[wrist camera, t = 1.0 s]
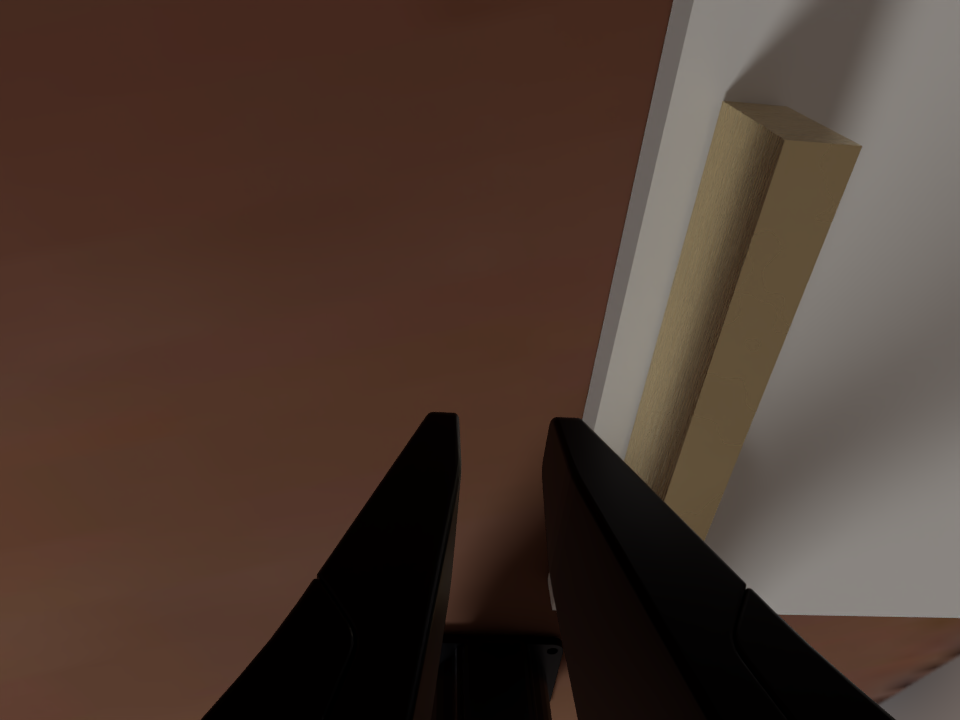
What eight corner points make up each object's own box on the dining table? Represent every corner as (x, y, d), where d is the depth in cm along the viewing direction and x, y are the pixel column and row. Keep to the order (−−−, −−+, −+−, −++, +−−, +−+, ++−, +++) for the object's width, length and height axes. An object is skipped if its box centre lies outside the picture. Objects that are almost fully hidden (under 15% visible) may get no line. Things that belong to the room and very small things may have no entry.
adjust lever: (666, 568, 25) (694, 651, 22) (564, 565, 25) (579, 649, 22) (833, 110, 16) (919, 150, 13) (674, 96, 16) (725, 135, 13)
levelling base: (941, 588, 29) (987, 649, 27) (547, 579, 28) (557, 643, 25) (1395, -29, 16) (1566, -21, 14) (696, -105, 15) (746, -112, 12)
